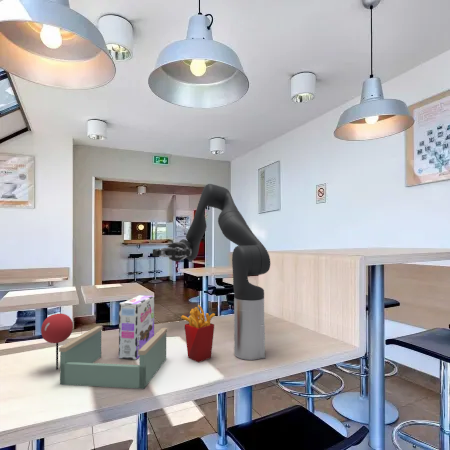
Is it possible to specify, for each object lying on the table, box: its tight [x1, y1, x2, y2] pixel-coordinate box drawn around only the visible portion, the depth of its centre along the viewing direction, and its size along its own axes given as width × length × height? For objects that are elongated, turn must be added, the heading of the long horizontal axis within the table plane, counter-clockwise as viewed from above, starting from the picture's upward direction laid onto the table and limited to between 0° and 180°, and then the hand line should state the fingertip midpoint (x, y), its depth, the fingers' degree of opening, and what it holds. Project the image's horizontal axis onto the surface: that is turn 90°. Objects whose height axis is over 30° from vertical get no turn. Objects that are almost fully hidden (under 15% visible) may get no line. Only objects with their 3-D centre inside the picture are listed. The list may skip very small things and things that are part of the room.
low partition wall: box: [58, 325, 168, 390], centre depth 85 cm, size 22×18×9 cm
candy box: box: [118, 295, 155, 360], centre depth 99 cm, size 14×6×16 cm, turn 170°
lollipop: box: [40, 313, 74, 370], centre depth 86 cm, size 8×8×15 cm
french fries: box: [180, 304, 216, 363], centre depth 94 cm, size 9×8×15 cm
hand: (167, 253), depth 114 cm, fingers open, 8 cm apart
